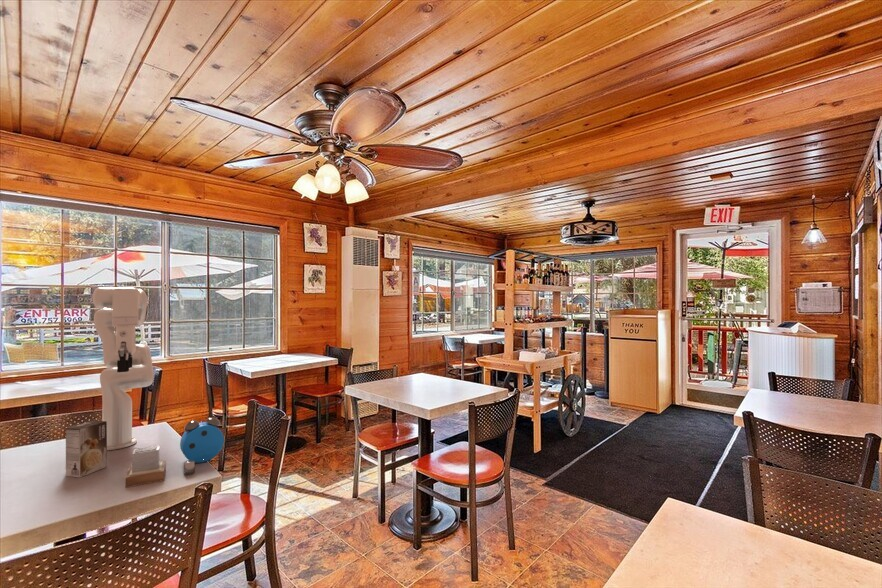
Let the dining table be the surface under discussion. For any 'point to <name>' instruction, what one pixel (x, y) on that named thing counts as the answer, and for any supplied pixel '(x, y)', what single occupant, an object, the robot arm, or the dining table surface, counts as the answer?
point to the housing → (145, 458)
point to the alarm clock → (202, 440)
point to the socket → (189, 467)
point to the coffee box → (86, 448)
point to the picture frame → (145, 475)
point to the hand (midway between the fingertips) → (124, 369)
